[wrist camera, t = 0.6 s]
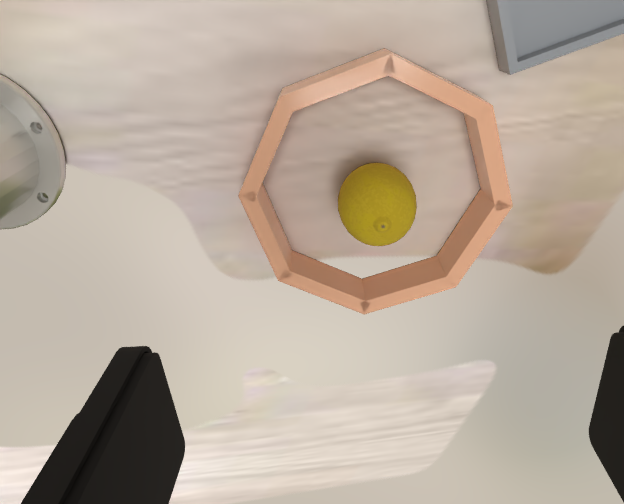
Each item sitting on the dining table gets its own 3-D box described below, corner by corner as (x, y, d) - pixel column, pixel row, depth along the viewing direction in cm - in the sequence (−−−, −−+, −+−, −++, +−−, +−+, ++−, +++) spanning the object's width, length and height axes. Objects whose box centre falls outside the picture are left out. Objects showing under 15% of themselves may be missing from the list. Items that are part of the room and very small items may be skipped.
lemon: (420, 174, 38) (444, 215, 31) (378, 228, 41) (390, 278, 34) (363, 135, 37) (374, 169, 30) (322, 193, 39) (323, 237, 32)
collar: (303, 308, 44) (302, 332, 41) (214, 114, 36) (205, 125, 33) (509, 246, 41) (524, 266, 38) (461, 18, 33) (476, 21, 30)
